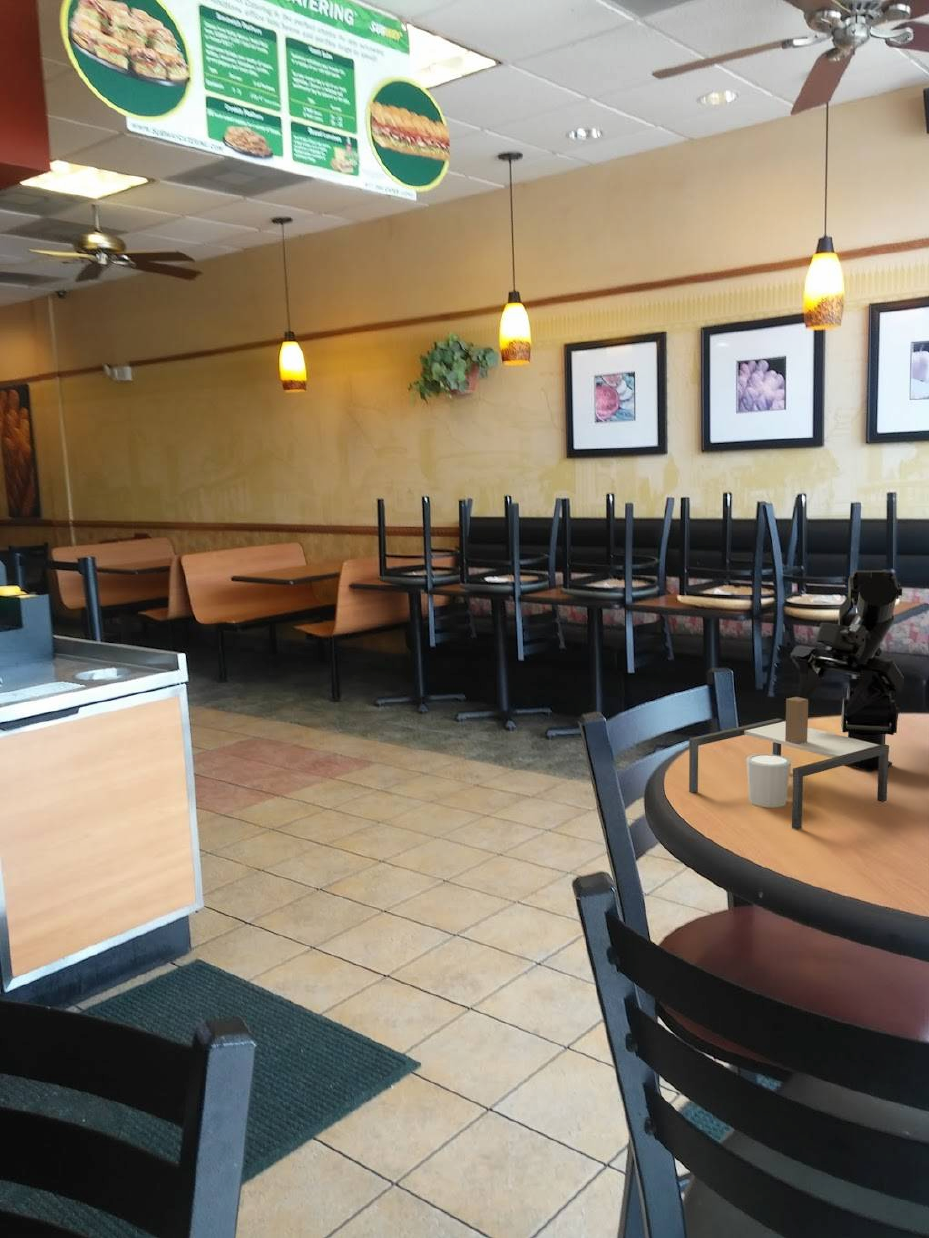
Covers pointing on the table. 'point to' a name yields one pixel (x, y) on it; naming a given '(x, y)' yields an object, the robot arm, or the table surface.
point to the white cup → (768, 779)
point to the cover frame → (797, 772)
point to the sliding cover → (806, 733)
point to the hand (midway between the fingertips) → (821, 708)
